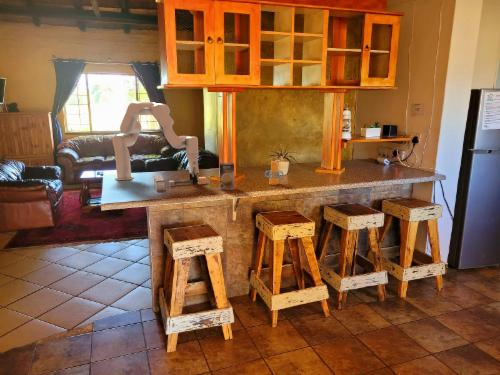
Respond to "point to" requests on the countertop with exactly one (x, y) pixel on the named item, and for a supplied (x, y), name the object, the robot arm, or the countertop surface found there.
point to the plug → (189, 181)
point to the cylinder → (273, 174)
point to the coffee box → (226, 176)
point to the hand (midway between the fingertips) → (193, 181)
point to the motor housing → (158, 182)
